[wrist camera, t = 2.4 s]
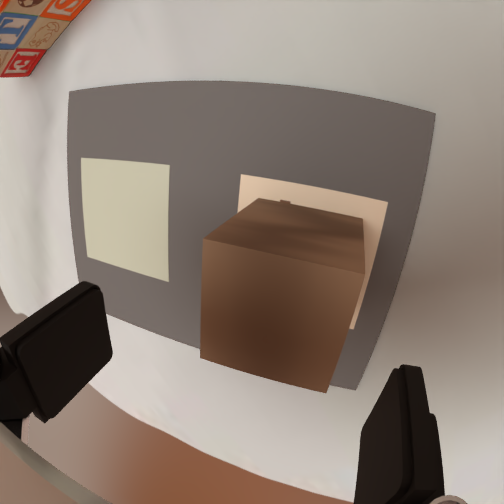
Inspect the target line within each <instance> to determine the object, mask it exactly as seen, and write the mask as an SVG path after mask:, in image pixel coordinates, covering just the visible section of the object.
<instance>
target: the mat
mask: <svg viewBox="0 0 504 504" xmlns="http://www.w3.org/2000/svg"><path fill="white" fill-rule="evenodd" d="M434 122H435V113H432V112H428V111H425V110H421V109H417V108H414V107H410V106H406V105H402V104H398V103H393V102H389V101H384V100H380V99H375V98H370V97H365V96H360V95H354V94H349V93H343V92H337V91H330V90H324V89H316V88H309V87H300V86H291V85H281V84H269V83H255V82H235V81H169V82H150V83H136V84H124V85H114V86H105V87H97V88H90V89H83V90H77V91H70V92H69V103H68V127H67V164H68V190H69V205H70V217H71V228H72V237H73V245H74V253H75V260H76V267H77V273H78V280H79V283H80V282H82V281H87V282H90V283H93V284H95V285H98V286H99V287H100V290H101V291H102V293H103V297H104V304H105V311H106V314H108V315H111V316H113V317H116V318H118V319H121V320H123V321H125V322H128V323H130V324H133V325H135V326H138V327H141V328H143V329H146V330H148V331H151V332H154V333H156V334H159V335H162V336H164V337H167V338H170V339H173V340H175V341H178V342H181V343H184V344H187V345H190V346H193V347H196V348H199V349H200V325H201V278H202V249H203V238H204V237H206V236H207V235H208V234H210V233H211V232H212V231H214V230H215V229H216V228H218V227H219V226H221V225H222V224H223V223H225V222H226V221H227V220H229V219H230V218H231V217H233V216H234V215H236V214H237V213H238V212H240V211H241V210H242V209H244V208H245V207H247V206H248V205H249V204H251V203H252V202H253V201H255V200H256V199H258V198H262V199H268V200H273V201H279V202H284V203H289V204H295V205H300V206H305V207H310V208H315V209H320V210H325V211H330V212H335V213H339V214H344V215H349V216H353V217H358V218H362V219H363V230H364V250H365V277H364V281H363V284H362V288H361V291H360V295H359V298H358V302H357V305H356V308H355V312H354V315H353V318H352V321H351V324H350V327H349V330H348V334H347V337H346V340H345V343H344V345H343V348H342V351H341V354H340V357H339V360H338V363H337V365H336V368H335V371H334V374H333V376H332V379H331V382H330V384H329V385H332V386H337V387H342V388H347V389H351V390H356V389H357V387H358V385H359V382H360V380H361V378H362V376H363V373H364V371H365V369H366V366H367V364H368V362H369V359H370V357H371V354H372V352H373V350H374V347H375V345H376V342H377V339H378V337H379V334H380V332H381V329H382V326H383V324H384V321H385V318H386V316H387V313H388V310H389V307H390V304H391V301H392V299H393V296H394V293H395V290H396V287H397V284H398V280H399V277H400V274H401V271H402V268H403V264H404V261H405V258H406V254H407V251H408V247H409V244H410V240H411V236H412V232H413V229H414V225H415V221H416V217H417V213H418V208H419V204H420V200H421V195H422V191H423V186H424V181H425V176H426V171H427V166H428V160H429V155H430V149H431V143H432V136H433V129H434Z"/></svg>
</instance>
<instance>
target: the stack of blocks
mask: <svg viewBox="0 0 504 504" xmlns="http://www.w3.org/2000/svg"><path fill="white" fill-rule="evenodd" d="M90 1H91V0H0V77H26V76H29V75H30V73H31V72H32V70H33V69H34V67H35V66H36V64H37V63H38V62H39V60H40V59H41V57H42V56H43V55H44V53H45V52H46V50H47V49H49V48H50V47H51V45H52V44H53V43H54V42H55V40H56V39H57V38H58V37H59V36H60V34H61V33H62V32H63V31H64V30H65V28H66V27H67V26H68V25H69V23H70V21H71V20H73V19H74V18H75V17H76V16H77V15H78V14H79V13H80V11H81V10H82V9H83V8H84V7H85V6H86V5H87V4H88V3H89V2H90Z"/></svg>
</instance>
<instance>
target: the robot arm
mask: <svg viewBox="0 0 504 504" xmlns="http://www.w3.org/2000/svg"><path fill="white" fill-rule="evenodd" d="M0 343H1V345H2V347H1V348H0V504H112V503H110V502H108V501H107V500H105V499H103V498H101V497H100V496H98V495H96V494H95V493H93V492H91V491H90V490H88V489H87V488H85V487H83V486H82V485H80V484H79V483H77V482H76V481H74V480H73V479H71V478H70V477H68V476H66V475H65V474H64V473H62V472H61V471H60V470H58V469H57V468H55V467H54V466H53V465H51V464H50V463H49V462H47V461H46V460H45V459H43V458H42V457H41V456H39V455H38V454H37V453H36V452H34V451H33V450H32V449H31V448H29V447H28V432H29V414H30V413H31V412H33V413H34V415H35V416H36V417H37V418H38V419H40V420H41V421H42V422H44V423H46V422H47V421H48V420H49V419H50V418H54V417H55V416H56V415H57V414H58V413H59V412H60V411H61V410H62V409H63V408H64V407H65V406H66V405H67V404H68V403H69V402H70V400H72V399H73V398H74V397H75V396H76V394H77V393H78V392H79V391H80V390H81V389H82V388H83V387H84V386H85V385H86V384H87V383H88V382H89V381H90V380H91V379H92V378H93V377H94V376H95V375H96V374H97V373H98V372H99V371H100V370H101V369H102V368H103V367H104V366H105V365H106V364H107V363H108V362H109V361H110V359H111V358H112V354H113V351H112V346H111V340H110V335H109V329H108V323H107V317H106V311H105V304H104V297H103V293H102V291H101V290H100V287H99V286H98V285H95V284H93V283H90V282H87V281H82V282H80V283H79V284H77V285H76V286H74V287H73V288H71V289H70V290H68V291H66V292H65V293H63V294H62V295H60V296H59V297H57V298H56V299H55V300H53V301H52V302H50V303H49V304H47V305H46V306H44V307H43V308H41V309H40V310H38V311H37V312H35V313H34V314H33V315H31V316H30V317H28V318H27V319H25V320H24V321H23V322H21V323H20V324H18V325H17V326H16V327H14V328H13V329H11V330H10V331H9V332H7V333H6V334H4V335H3V336H2V337H0ZM354 504H467V503H466V502H465V501H464V500H463V499H461V498H459V497H457V496H452V495H446V496H445V491H444V477H443V467H442V457H441V449H440V441H439V434H438V427H437V421H436V417H435V415H434V414H431V413H429V406H428V400H427V394H426V389H425V383H424V378H423V373H422V369H421V368H420V367H417V366H410V365H404V364H403V365H401V366H400V368H399V369H397V368H394V369H393V371H392V373H391V375H390V377H389V379H388V381H387V383H386V385H385V387H384V389H383V391H382V393H381V395H380V397H379V398H378V400H377V402H376V404H375V406H374V408H373V410H372V411H371V413H370V415H369V417H368V419H367V420H366V422H365V424H364V426H363V428H362V431H361V438H360V451H359V462H358V472H357V481H356V490H355V498H354Z"/></svg>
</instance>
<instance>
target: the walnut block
mask: <svg viewBox="0 0 504 504" xmlns="http://www.w3.org/2000/svg"><path fill="white" fill-rule="evenodd" d="M364 277H365V250H364V230H363V219H362V218H358V217H353V216H349V215H344V214H339V213H335V212H330V211H325V210H320V209H315V208H310V207H305V206H300V205H295V204H289V203H284V202H279V201H273V200H268V199H262V198H258V199H256V200H255V201H253V202H252V203H251V204H249V205H248V206H247V207H245V208H244V209H242V210H241V211H240V212H238V213H237V214H236V215H234V216H233V217H231V218H230V219H229V220H227V221H226V222H225V223H223V224H222V225H221V226H219V227H218V228H216V229H215V230H214V231H212V232H211V233H210V234H208V235H207V236H206V237H204V238H203V249H202V278H201V325H200V358H202V359H205V360H208V361H211V362H214V363H217V364H220V365H223V366H227V367H230V368H233V369H236V370H240V371H243V372H246V373H250V374H253V375H256V376H260V377H264V378H267V379H271V380H274V381H278V382H282V383H286V384H290V385H294V386H298V387H302V388H306V389H310V390H314V391H318V392H323V393H326V392H327V390H328V387H329V384H330V382H331V379H332V376H333V374H334V371H335V368H336V365H337V363H338V360H339V357H340V354H341V351H342V348H343V345H344V343H345V340H346V337H347V334H348V330H349V327H350V324H351V321H352V318H353V315H354V312H355V308H356V305H357V302H358V298H359V295H360V291H361V288H362V284H363V281H364Z"/></svg>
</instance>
